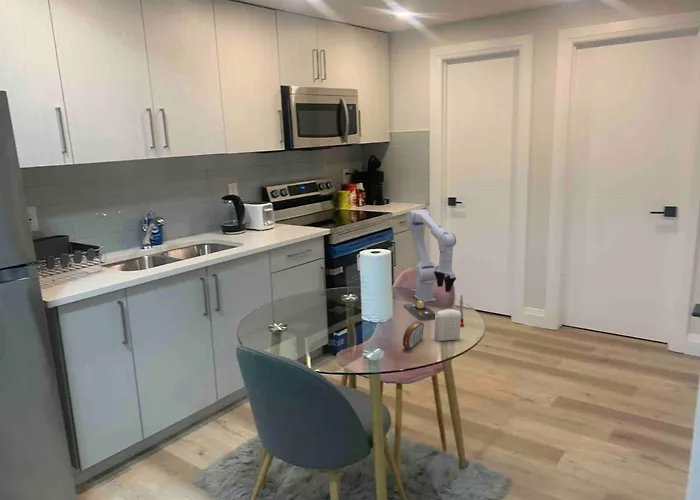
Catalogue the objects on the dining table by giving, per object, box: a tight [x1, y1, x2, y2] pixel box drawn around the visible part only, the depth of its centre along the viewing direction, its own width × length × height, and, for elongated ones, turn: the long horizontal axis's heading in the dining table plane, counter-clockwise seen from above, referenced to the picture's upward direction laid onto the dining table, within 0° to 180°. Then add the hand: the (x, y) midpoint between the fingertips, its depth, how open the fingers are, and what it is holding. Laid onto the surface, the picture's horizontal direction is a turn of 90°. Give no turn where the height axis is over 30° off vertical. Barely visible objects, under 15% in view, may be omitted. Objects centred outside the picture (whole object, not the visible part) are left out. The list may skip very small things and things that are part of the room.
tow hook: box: [459, 294, 465, 328], centre depth 227 cm, size 8×13×9 cm
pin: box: [416, 299, 425, 310], centre depth 239 cm, size 3×3×6 cm
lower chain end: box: [403, 302, 417, 317], centre depth 243 cm, size 13×7×2 cm, turn 18°
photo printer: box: [433, 308, 461, 342], centre depth 211 cm, size 10×4×12 cm, turn 103°
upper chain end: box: [410, 305, 436, 321], centre depth 237 cm, size 11×7×3 cm, turn 18°
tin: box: [402, 320, 425, 350], centre depth 206 cm, size 15×3×8 cm, turn 150°
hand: (443, 289), depth 244 cm, fingers open, 7 cm apart
